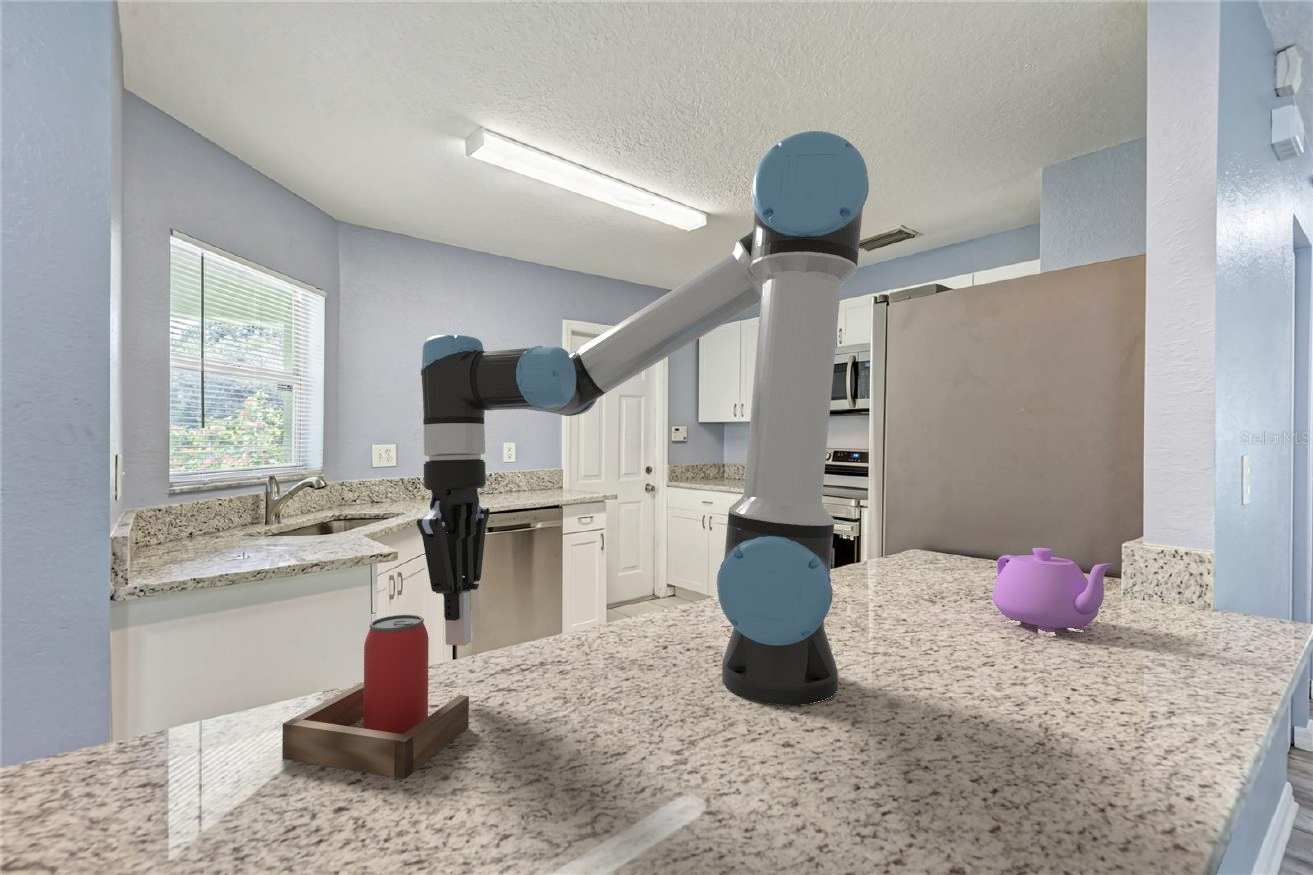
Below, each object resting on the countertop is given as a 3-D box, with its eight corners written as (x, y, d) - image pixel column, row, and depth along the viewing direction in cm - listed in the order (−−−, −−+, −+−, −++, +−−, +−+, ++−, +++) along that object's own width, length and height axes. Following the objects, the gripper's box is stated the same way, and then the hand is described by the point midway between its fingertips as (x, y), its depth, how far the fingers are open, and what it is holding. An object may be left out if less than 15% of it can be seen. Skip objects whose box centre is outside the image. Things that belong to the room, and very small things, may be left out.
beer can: (405, 746, 63) (406, 631, 63) (349, 741, 64) (350, 628, 64) (439, 719, 69) (440, 614, 70) (387, 714, 70) (388, 612, 71)
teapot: (1148, 643, 97) (1147, 558, 97) (1077, 653, 92) (1076, 563, 92) (1026, 608, 118) (1025, 538, 118) (963, 615, 113) (962, 541, 113)
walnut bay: (468, 727, 67) (468, 696, 67) (404, 779, 57) (405, 741, 57) (360, 712, 71) (361, 682, 71) (282, 758, 61) (282, 723, 61)
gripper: (457, 458, 84) (461, 627, 84) (395, 459, 72) (399, 659, 71) (506, 456, 82) (510, 629, 82) (451, 458, 70) (454, 663, 69)
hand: (458, 643), depth 77 cm, fingers closed
